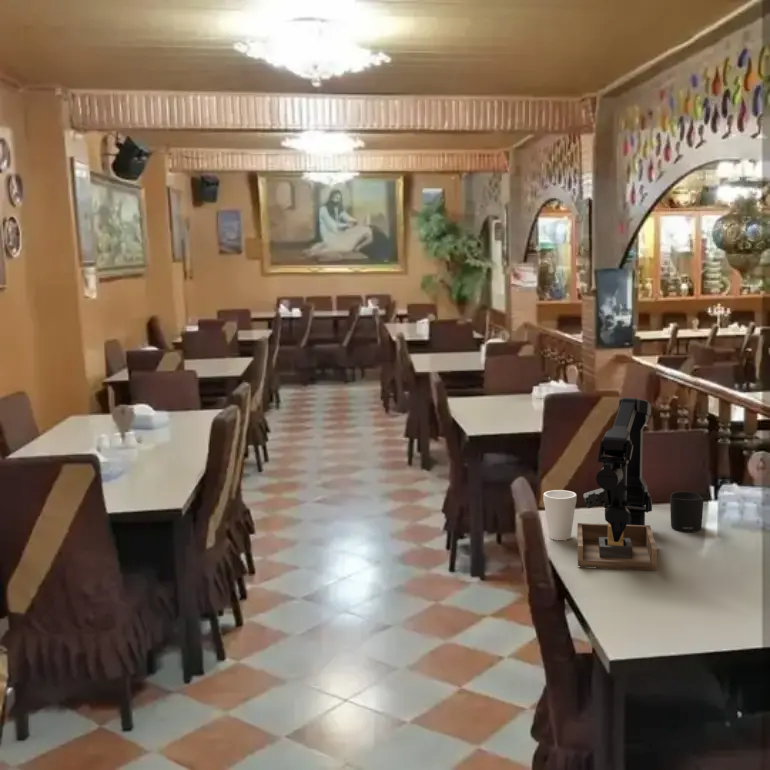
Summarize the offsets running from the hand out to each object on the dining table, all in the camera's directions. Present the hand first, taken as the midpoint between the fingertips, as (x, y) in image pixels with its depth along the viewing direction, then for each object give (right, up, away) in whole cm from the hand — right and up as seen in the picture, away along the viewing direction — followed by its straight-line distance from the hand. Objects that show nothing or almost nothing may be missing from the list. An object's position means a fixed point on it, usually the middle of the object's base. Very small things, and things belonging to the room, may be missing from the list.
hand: (615, 536), depth 242 cm
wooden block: (0, -5, +1) cm, 5 cm away
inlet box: (0, -6, +1) cm, 6 cm away
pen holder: (+27, -2, +24) cm, 36 cm away
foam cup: (-12, -4, +18) cm, 22 cm away
